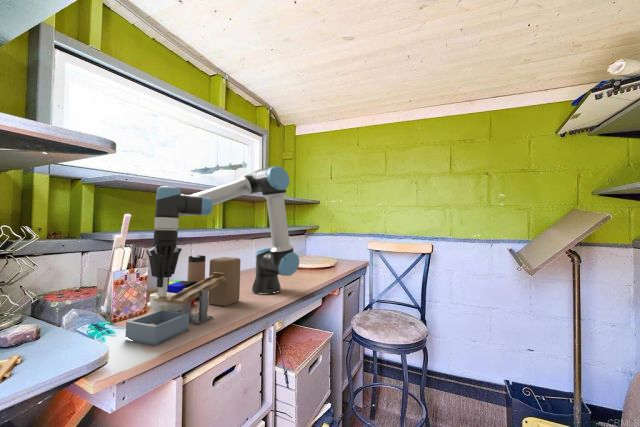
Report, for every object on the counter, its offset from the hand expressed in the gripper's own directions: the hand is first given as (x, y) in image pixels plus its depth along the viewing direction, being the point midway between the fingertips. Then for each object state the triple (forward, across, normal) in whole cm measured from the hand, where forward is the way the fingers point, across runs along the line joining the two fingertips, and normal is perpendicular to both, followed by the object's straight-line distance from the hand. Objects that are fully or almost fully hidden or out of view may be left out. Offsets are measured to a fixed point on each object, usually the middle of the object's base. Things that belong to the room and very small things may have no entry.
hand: (162, 295), depth 95 cm
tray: (+10, +8, +8) cm, 15 cm away
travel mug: (+9, -30, -13) cm, 34 cm away
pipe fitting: (+10, -6, -9) cm, 15 cm away
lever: (0, -10, +4) cm, 11 cm away
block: (+9, -29, +4) cm, 31 cm away
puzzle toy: (+10, -17, -11) cm, 23 cm away
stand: (+10, -7, +8) cm, 14 cm away
